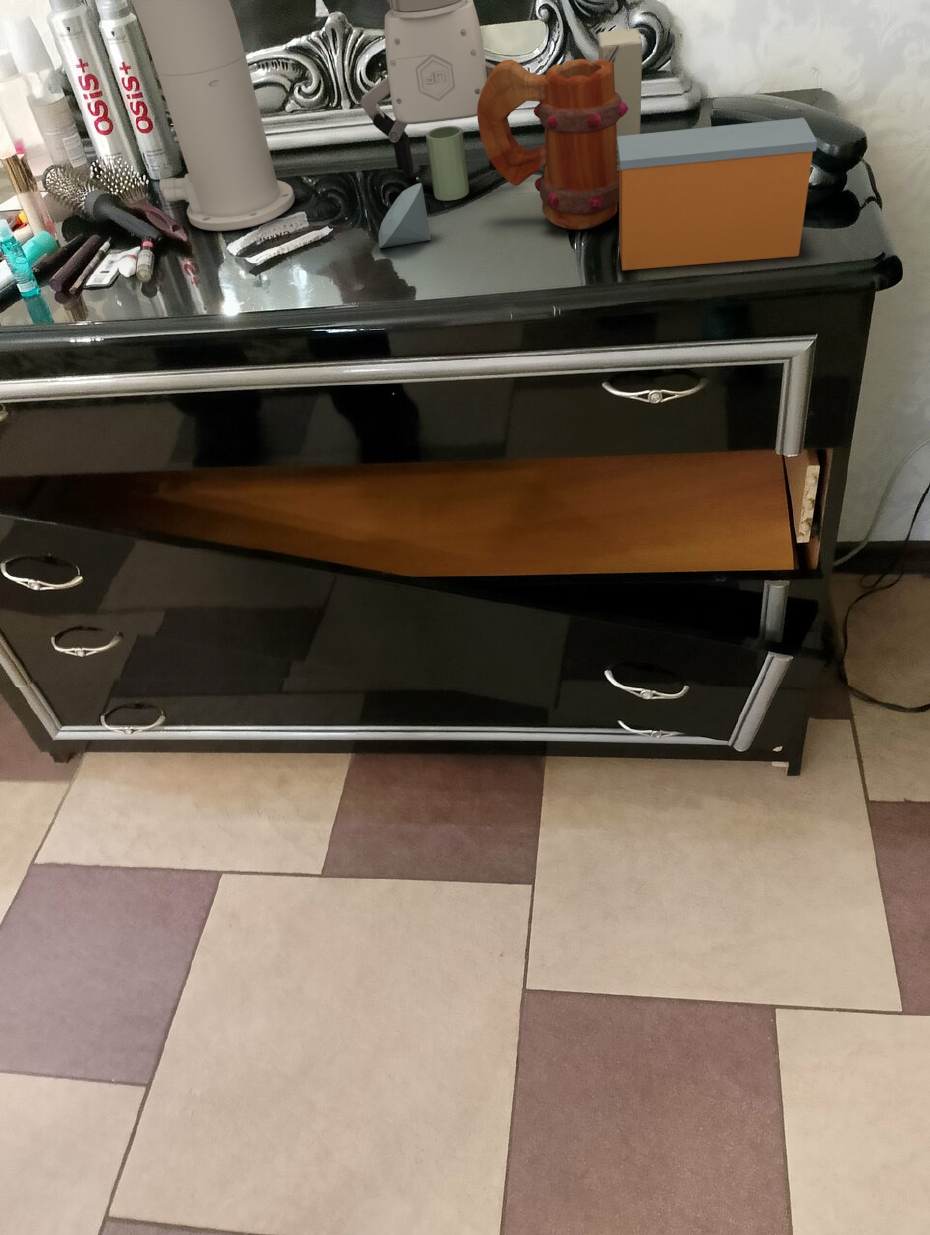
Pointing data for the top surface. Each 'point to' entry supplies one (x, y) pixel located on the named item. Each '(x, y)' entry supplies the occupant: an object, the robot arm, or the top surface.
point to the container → (713, 193)
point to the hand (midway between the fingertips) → (451, 170)
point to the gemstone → (405, 219)
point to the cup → (447, 163)
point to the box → (625, 74)
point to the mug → (559, 136)
